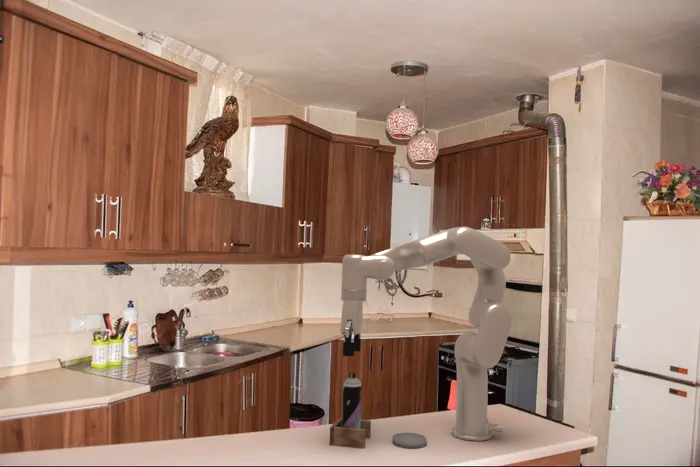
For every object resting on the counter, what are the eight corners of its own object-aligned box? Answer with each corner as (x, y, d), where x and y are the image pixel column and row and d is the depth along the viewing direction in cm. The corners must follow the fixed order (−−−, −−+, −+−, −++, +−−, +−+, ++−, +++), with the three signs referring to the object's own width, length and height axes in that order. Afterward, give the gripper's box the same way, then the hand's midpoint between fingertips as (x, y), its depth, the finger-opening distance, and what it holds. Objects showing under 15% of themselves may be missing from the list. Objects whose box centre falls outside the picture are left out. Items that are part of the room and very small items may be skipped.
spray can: (344, 444, 163) (345, 375, 164) (339, 438, 168) (341, 371, 169) (362, 443, 164) (363, 374, 165) (357, 437, 170) (358, 370, 171)
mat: (427, 439, 170) (427, 434, 170) (425, 450, 160) (425, 444, 160) (394, 436, 172) (394, 431, 172) (390, 446, 162) (390, 441, 162)
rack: (370, 437, 170) (370, 420, 171) (364, 448, 160) (364, 430, 160) (337, 434, 172) (338, 417, 173) (329, 445, 162) (330, 427, 162)
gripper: (347, 293, 177) (345, 348, 177) (334, 296, 161) (332, 357, 160) (370, 294, 176) (369, 350, 175) (360, 298, 159) (358, 359, 158)
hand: (351, 353), depth 167 cm, fingers open, 9 cm apart
